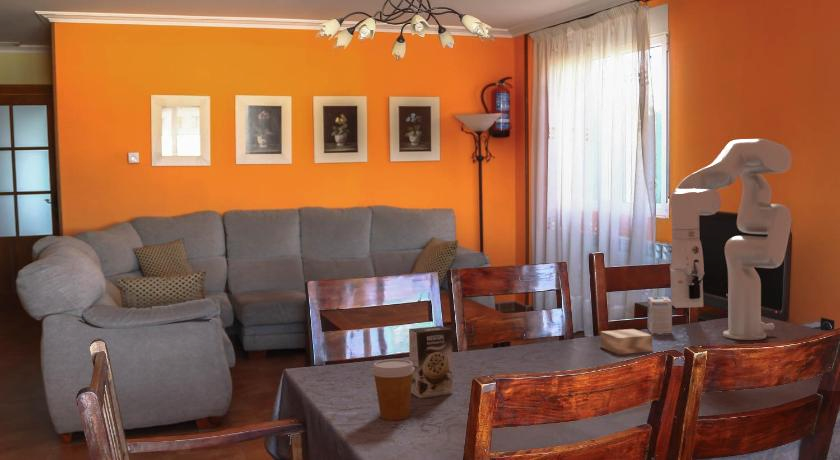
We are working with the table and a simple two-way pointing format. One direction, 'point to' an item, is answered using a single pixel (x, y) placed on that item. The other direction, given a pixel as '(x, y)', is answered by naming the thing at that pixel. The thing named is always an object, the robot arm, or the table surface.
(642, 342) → the oak block
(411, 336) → the cookie box
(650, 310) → the light bulb box
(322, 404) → the table surface
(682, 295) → the small box
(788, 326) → the table surface
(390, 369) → the disposable coffee cup
